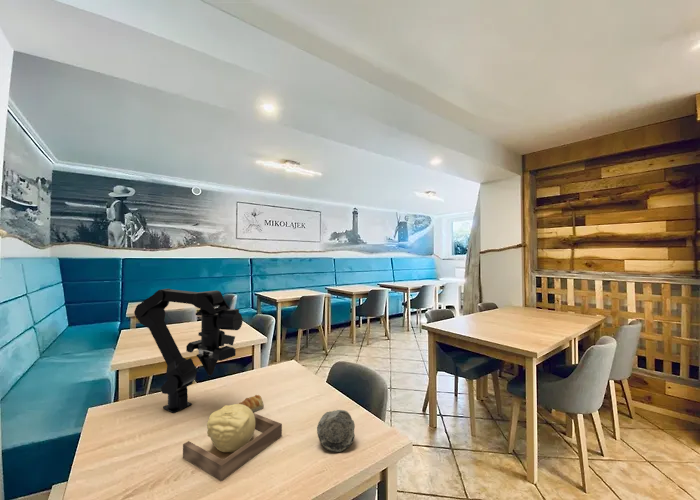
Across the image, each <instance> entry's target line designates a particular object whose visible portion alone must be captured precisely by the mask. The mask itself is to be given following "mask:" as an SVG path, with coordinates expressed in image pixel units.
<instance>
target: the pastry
mask: <svg viewBox="0 0 700 500" xmlns="http://www.w3.org/2000/svg"><path fill="white" fill-rule="evenodd" d="M238 404H242V405H245V406H247V407H249V408H250V409H251V410H252V412H253V413H255V412H258V411H261V410H262V409H263V408H264V405H265V404H264V401H263V398H262V397H261V395H259V394H254V395H253V396H249V397H246V398H245V399H244V400H242V401H240V402H239V403H238Z"/></svg>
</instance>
